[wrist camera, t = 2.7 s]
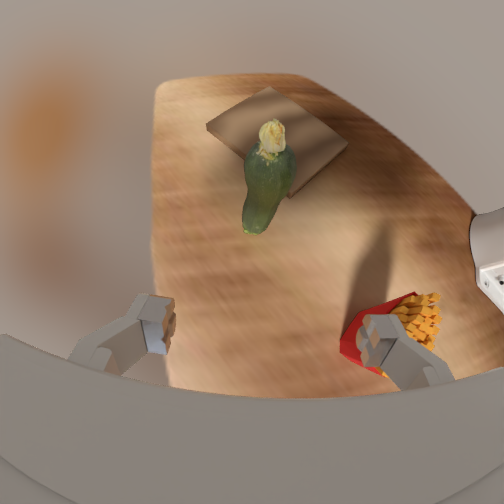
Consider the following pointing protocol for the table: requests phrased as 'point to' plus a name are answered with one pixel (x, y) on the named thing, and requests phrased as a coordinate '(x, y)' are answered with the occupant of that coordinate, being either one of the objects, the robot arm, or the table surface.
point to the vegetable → (267, 176)
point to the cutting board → (296, 132)
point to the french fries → (410, 315)
